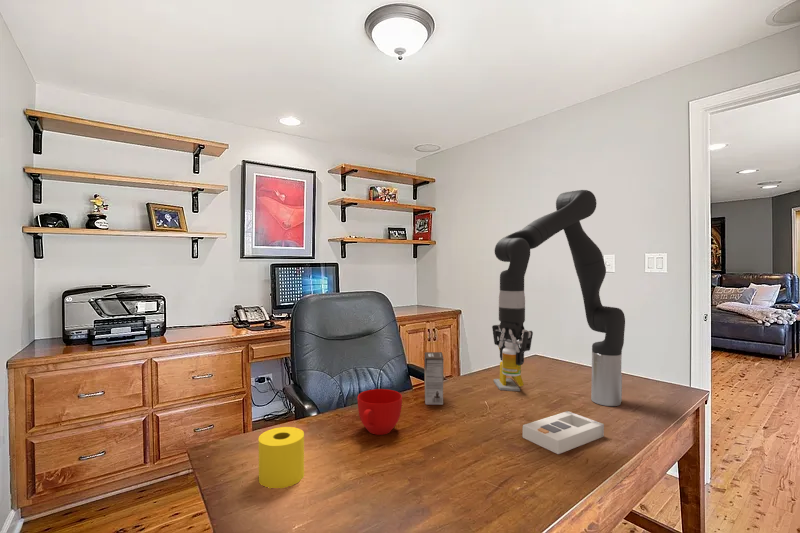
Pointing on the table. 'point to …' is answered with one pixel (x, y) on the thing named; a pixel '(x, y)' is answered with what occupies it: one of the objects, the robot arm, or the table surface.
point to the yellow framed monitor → (508, 381)
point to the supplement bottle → (510, 360)
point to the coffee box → (434, 378)
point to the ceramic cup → (379, 410)
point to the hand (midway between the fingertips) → (511, 362)
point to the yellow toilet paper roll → (281, 457)
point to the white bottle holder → (563, 431)
